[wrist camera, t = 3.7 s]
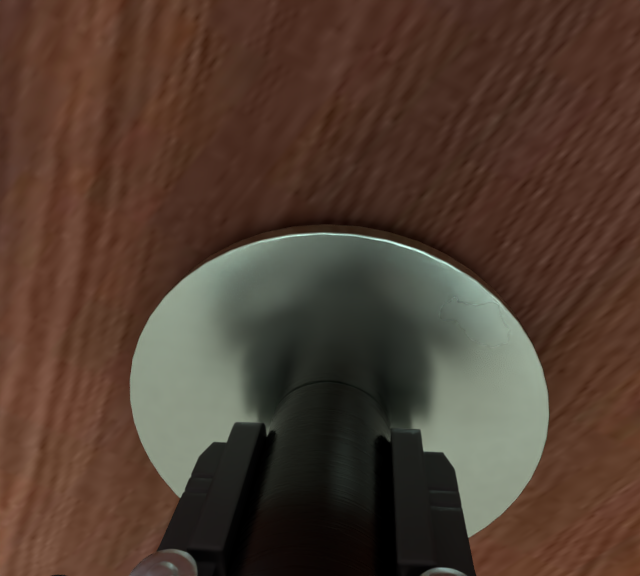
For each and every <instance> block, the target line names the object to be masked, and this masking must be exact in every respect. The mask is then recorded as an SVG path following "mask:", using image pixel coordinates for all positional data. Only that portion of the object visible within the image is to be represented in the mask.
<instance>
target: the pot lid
mask: <svg viewBox="0 0 640 576" xmlns="http://www.w3.org/2000/svg"><path fill="white" fill-rule="evenodd" d="M130 402H131V408H132V413H133V419H134V423H135V426H136V429H137V432H138V435H139V438H140V441H141V443H142V445H143V447H144V449H145V451H146V453H147V455H148V457H149V459H150V461H151V462H152V464H153V465H154V467H155V468H156V470H157V471H158V473H159V474H160V476H161V477H162V479H163V480H164V481H165V482H166V483H167V484H168V486H169V487H170V488H171V489H172V490H173V491H174V493H175V494H176V495H177V496H178V497H179V498H181V496H182V494H183V492H185V487H186V485H187V482H188V480H189V478H191V473H192V471H193V469H194V466H195V464H196V462H197V460H198V457H199V456H200V455H201V454H202V453H203V452H204V451H205V450H206V449H207V448H208V447H209V446H210V445H211V444H212V443H213V442H227V440H228V437H229V435H230V432H231V430H232V427H233V425H234V423H235V422H255V423H264V424H265V426H266V433H267V439H266V442H265V446H264V449H263V453H262V456H261V460H260V464H259V467H258V471H257V474H256V478H255V481H254V485H253V488H252V492H251V495H250V499H249V502H248V506H247V509H246V513H245V516H244V520H243V523H242V527H241V530H240V534H239V537H238V541H237V544H236V548H235V551H234V555H233V558H232V562H231V565H230V569H229V572H228V576H395V550H394V525H393V499H392V474H391V448H390V438H391V428H401V429H420V430H421V436H422V444H423V451H428V452H443V453H444V455H445V456H446V457H447V459H448V460H449V462H450V463H451V464H452V466H453V467H454V469H455V472H456V478H457V483H458V488H459V493H460V498H461V503H462V509H463V514H464V519H465V524H466V529H467V534H468V538H470V537H471V536H473V535H474V534H476V533H477V532H479V531H481V530H482V529H484V528H485V527H487V526H488V525H489V524H491V523H492V522H493V521H494V520H495V519H497V518H498V517H499V516H500V515H501V514H503V513H504V512H505V511H506V510H507V509H508V508H509V506H510V505H511V504H512V503H513V502H514V501H515V500H516V499H517V498H518V497H519V495H520V494H521V493H522V491H523V490H524V488H525V487H526V485H527V484H528V482H529V481H530V480H531V478H532V476H533V474H534V472H535V470H536V468H537V465H538V463H539V461H540V459H541V456H542V453H543V449H544V446H545V443H546V439H547V433H548V424H549V416H550V411H549V394H548V388H547V383H546V379H545V375H544V371H543V367H542V364H541V362H540V360H539V357H538V355H537V353H536V350H535V348H534V345H533V343H532V341H531V340H530V338H529V336H528V334H527V332H526V331H525V329H524V328H523V326H522V325H521V323H520V321H519V320H518V318H517V317H516V315H515V313H514V312H513V310H512V309H511V308H510V307H509V306H508V305H507V304H506V302H505V301H504V300H503V299H502V298H501V297H500V295H499V294H498V293H497V292H496V291H495V290H494V289H493V288H492V287H491V286H490V285H488V284H487V283H486V282H485V281H484V280H483V279H481V278H480V277H479V276H478V275H477V274H476V273H474V272H473V271H472V270H470V269H469V268H467V267H466V266H464V265H462V264H461V263H459V262H458V261H456V260H455V259H453V258H452V257H450V256H448V255H447V254H445V253H442V252H440V251H438V250H436V249H434V248H432V247H430V246H427V245H425V244H423V243H421V242H419V241H416V240H413V239H409V238H406V237H403V236H400V235H397V234H394V233H391V232H387V231H381V230H376V229H370V228H365V227H359V226H347V225H329V224H322V225H308V226H294V227H289V228H284V229H279V230H274V231H269V232H264V233H261V234H258V235H256V236H253V237H250V238H247V239H244V240H241V241H238V242H236V243H234V244H232V245H230V246H228V247H226V248H224V249H222V250H220V251H218V252H216V253H214V254H212V255H211V256H209V257H208V258H207V259H205V260H204V261H202V262H201V263H199V264H198V265H197V266H195V267H194V268H192V269H191V270H190V271H189V272H188V273H187V274H186V275H185V276H184V277H183V278H182V279H181V280H180V281H178V282H177V283H176V284H175V285H174V286H173V287H172V288H171V290H170V291H169V292H168V293H167V294H166V295H165V296H164V298H163V299H162V300H161V302H160V303H159V304H158V306H157V307H156V308H155V310H154V311H153V312H152V314H151V315H150V317H149V319H148V321H147V323H146V325H145V327H144V329H143V331H142V332H141V334H140V336H139V340H138V343H137V346H136V349H135V352H134V355H133V360H132V367H131V374H130Z"/></svg>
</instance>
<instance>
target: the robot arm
mask: <svg viewBox="0 0 640 576" xmlns="http://www.w3.org/2000/svg"><path fill="white" fill-rule="evenodd" d="M266 439H267V433H266V426H265V424H264V423H255V422H235V423H234V425H233V427H232V430H231V432H230V435H229V437H228V440H227V442H213V443H212V444H211V445H210V446H209V447H208V448H207V449H206V450H205V451H204V452H203V453H202V454H201V455H200V456H199V457H198V460H197V462H196V464H195V466H194V469H193V471H192V473H191V478H189V480H188V482H187V485H186V487H185V492H183V494H182V496H181V498H180V500H179V503H178V505H177V507H176V510H175V512H174V514H173V516H172V519H171V521H170V523H169V525H168V528H167V530H166V532H165V535H164V537H163V539H162V541H161V544H160V546H159V548H158V550H157V552H155V553H153V554H151V555H149V556H148V557H146V558H145V559H143V560H142V561H141V562H140V563H139V564H138V565H137V566H136V567H135V568H134V569H133V571H132V572H131V573H130V575H129V576H228V572H229V569H230V565H231V562H232V558H233V555H234V551H235V548H236V544H237V541H238V537H239V534H240V530H241V527H242V523H243V520H244V516H245V513H246V509H247V506H248V502H249V499H250V495H251V492H252V488H253V485H254V481H255V478H256V474H257V471H258V467H259V464H260V460H261V456H262V453H263V449H264V446H265V442H266ZM390 448H391V474H392V499H393V525H394V550H395V576H476V574H475V570H474V565H473V560H472V555H471V550H470V545H469V540H468V534H467V529H466V524H465V519H464V514H463V509H462V503H461V498H460V493H459V488H458V483H457V478H456V472H455V469H454V467H453V466H452V464H451V463H450V462H449V460H448V459H447V457H446V456H445V455H444V453H443V452H428V451H423V444H422V436H421V430H420V429H401V428H391V438H390ZM52 576H66V575H52Z"/></svg>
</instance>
